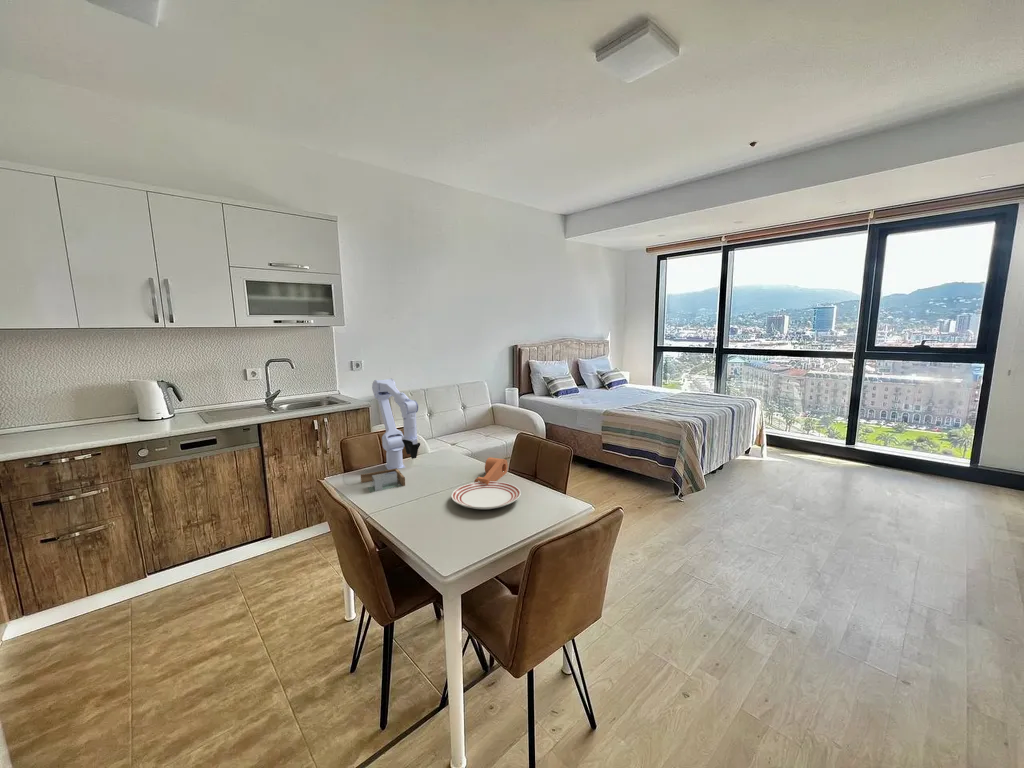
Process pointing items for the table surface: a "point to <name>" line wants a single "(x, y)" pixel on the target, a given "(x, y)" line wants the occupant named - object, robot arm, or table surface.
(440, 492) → the table surface
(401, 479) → the brown wooden l-shaped piece
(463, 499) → the dinner plate
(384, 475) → the bracket
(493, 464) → the crank
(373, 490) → the pad
